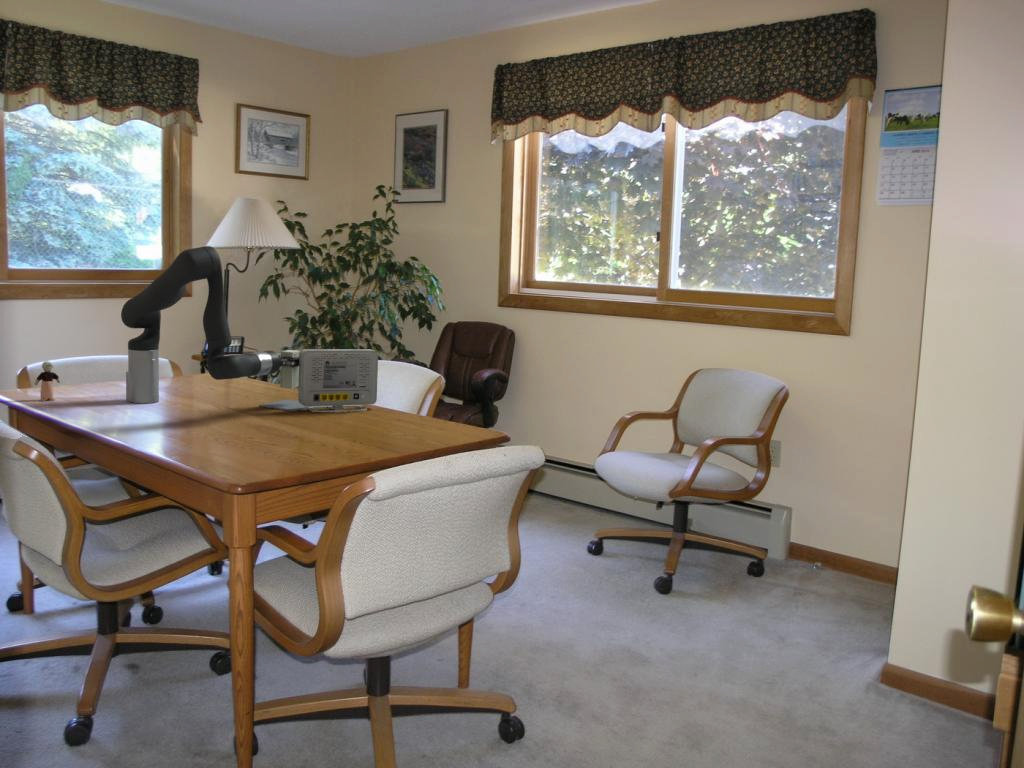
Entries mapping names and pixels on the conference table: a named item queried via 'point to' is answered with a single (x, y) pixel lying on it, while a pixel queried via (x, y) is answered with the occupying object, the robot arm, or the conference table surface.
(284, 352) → the skincare box
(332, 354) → the network device
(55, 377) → the grandmother figurine
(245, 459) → the conference table surface
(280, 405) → the slate pad
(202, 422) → the conference table surface
